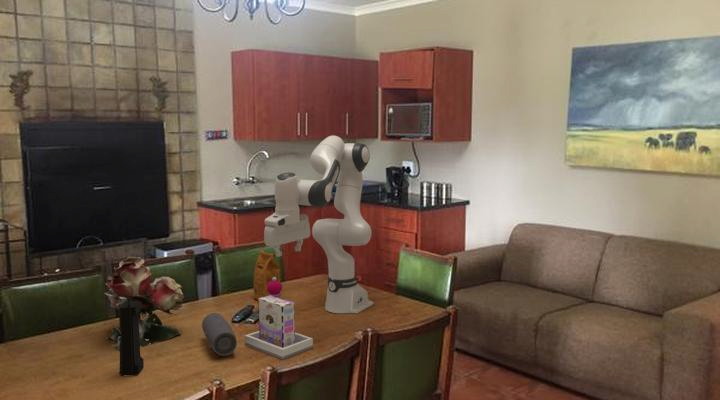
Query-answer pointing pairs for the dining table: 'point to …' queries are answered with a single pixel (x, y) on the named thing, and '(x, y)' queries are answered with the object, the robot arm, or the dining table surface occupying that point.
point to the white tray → (300, 346)
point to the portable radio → (130, 339)
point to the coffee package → (264, 274)
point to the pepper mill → (274, 288)
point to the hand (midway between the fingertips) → (288, 253)
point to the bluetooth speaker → (219, 334)
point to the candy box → (276, 321)
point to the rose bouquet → (144, 299)
